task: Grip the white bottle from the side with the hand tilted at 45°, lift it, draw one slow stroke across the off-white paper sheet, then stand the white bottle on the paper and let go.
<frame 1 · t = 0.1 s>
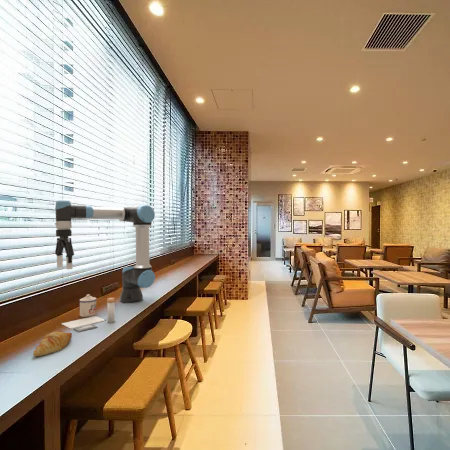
hand: (64, 268, 169), 28 cm above the counter, tool pointing down, fingers open, 13 cm apart
paper: (83, 322, 165), on the counter
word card: (85, 328, 154), on the counter
white bottle: (111, 321, 165), on the counter
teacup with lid: (89, 314, 180), on the counter
croissant: (53, 349, 129), on the counter
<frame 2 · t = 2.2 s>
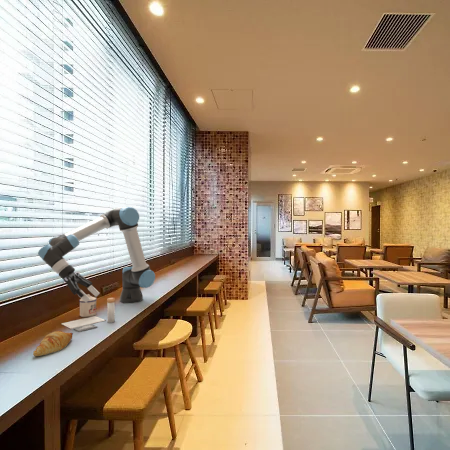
hand: (93, 297, 164), 13 cm above the counter, tool tilted 45°, fingers open, 13 cm apart
nothing on the counter moved.
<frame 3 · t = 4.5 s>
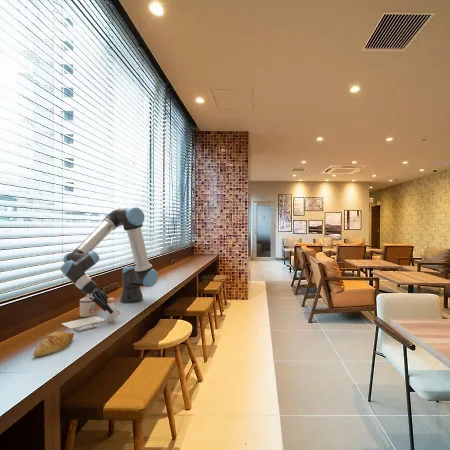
hand: (118, 315, 166), 3 cm above the counter, tool tilted 45°, fingers closed on white bottle, 3 cm apart
white bottle: (111, 321, 165), on the counter, touching gripper
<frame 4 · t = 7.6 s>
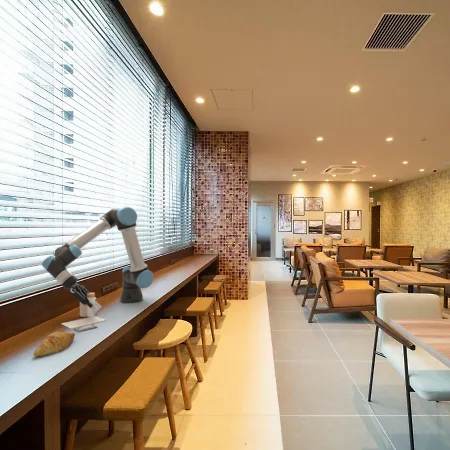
hand: (98, 309, 170), 5 cm above the counter, tool tilted 45°, fingers closed on white bottle, 3 cm apart
white bottle: (90, 315, 170), point 2 cm above the counter, touching gripper
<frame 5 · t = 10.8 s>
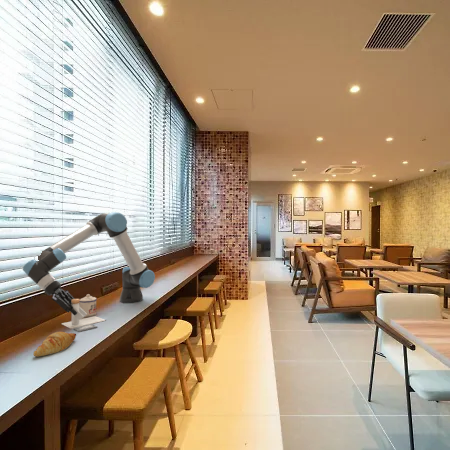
hand: (83, 317, 160), 4 cm above the counter, tool tilted 45°, fingers closed on white bottle, 3 cm apart
white bottle: (75, 323, 160), point 1 cm above the counter, touching gripper
when the fingers open (4 cm above the counter, at t = 10.9 s): white bottle stays where it is, resting on paper.
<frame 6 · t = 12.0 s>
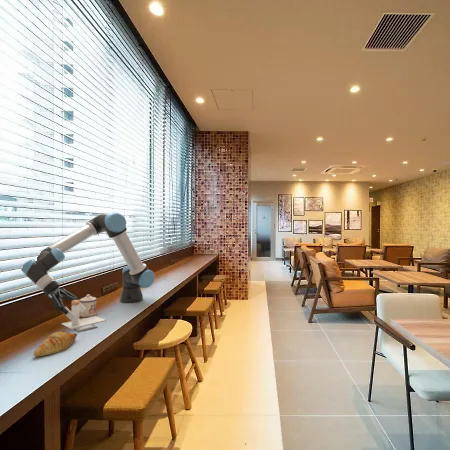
hand: (78, 314, 160), 6 cm above the counter, tool tilted 45°, fingers open, 13 cm apart
white bottle: (75, 324, 160), resting on paper
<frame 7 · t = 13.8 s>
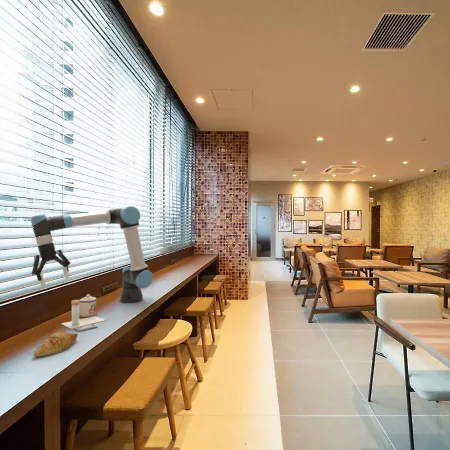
hand: (55, 282, 167), 21 cm above the counter, tool pointing down, fingers open, 13 cm apart
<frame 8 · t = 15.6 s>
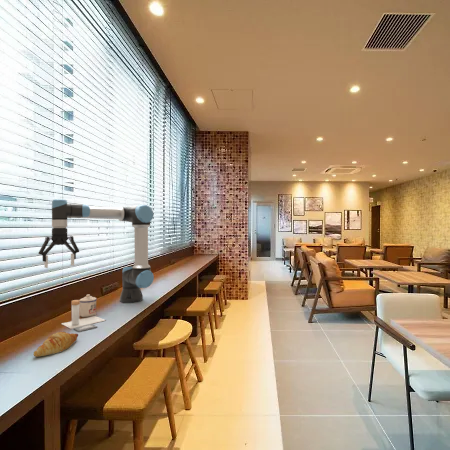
hand: (59, 266, 171), 29 cm above the counter, tool pointing down, fingers open, 13 cm apart
at the end: white bottle inside the target area on the paper (5.3 cm from its centre), point 0.3 cm above the paper's base; the gripper is holding nothing; white bottle moved 17.0 cm from its start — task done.
